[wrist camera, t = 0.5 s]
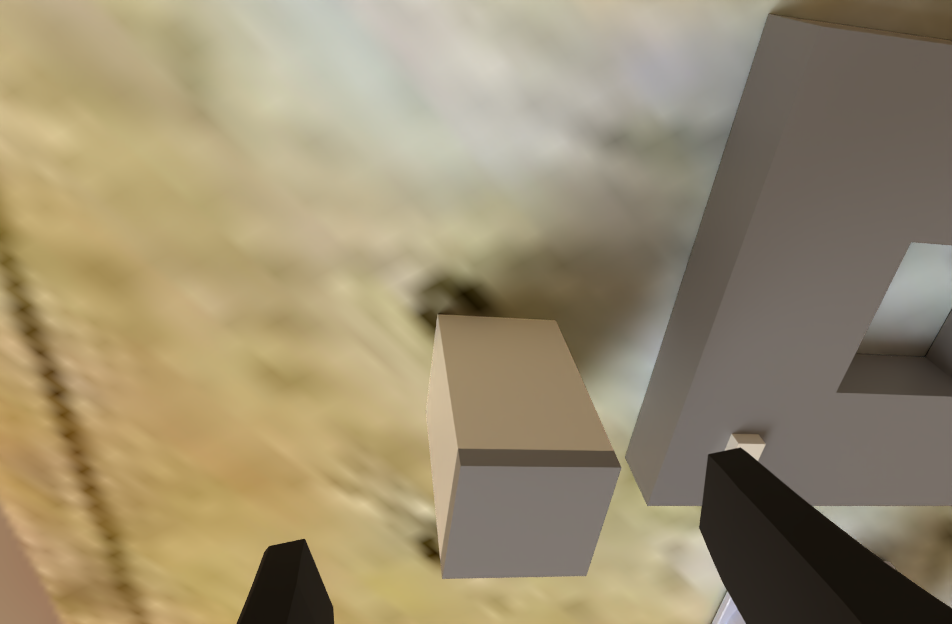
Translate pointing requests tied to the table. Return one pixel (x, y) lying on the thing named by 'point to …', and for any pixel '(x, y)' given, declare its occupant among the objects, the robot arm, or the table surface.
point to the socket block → (812, 280)
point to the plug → (514, 451)
